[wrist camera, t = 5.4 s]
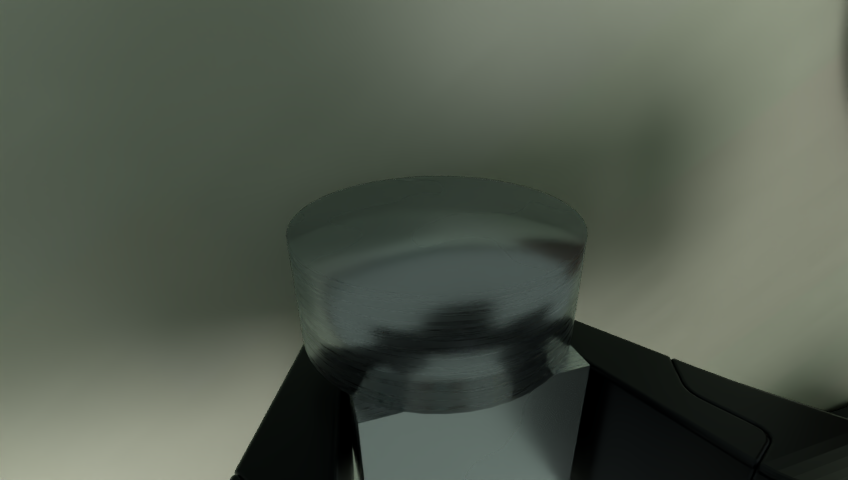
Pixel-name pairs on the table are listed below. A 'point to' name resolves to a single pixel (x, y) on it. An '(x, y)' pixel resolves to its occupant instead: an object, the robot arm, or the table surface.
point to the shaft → (446, 325)
